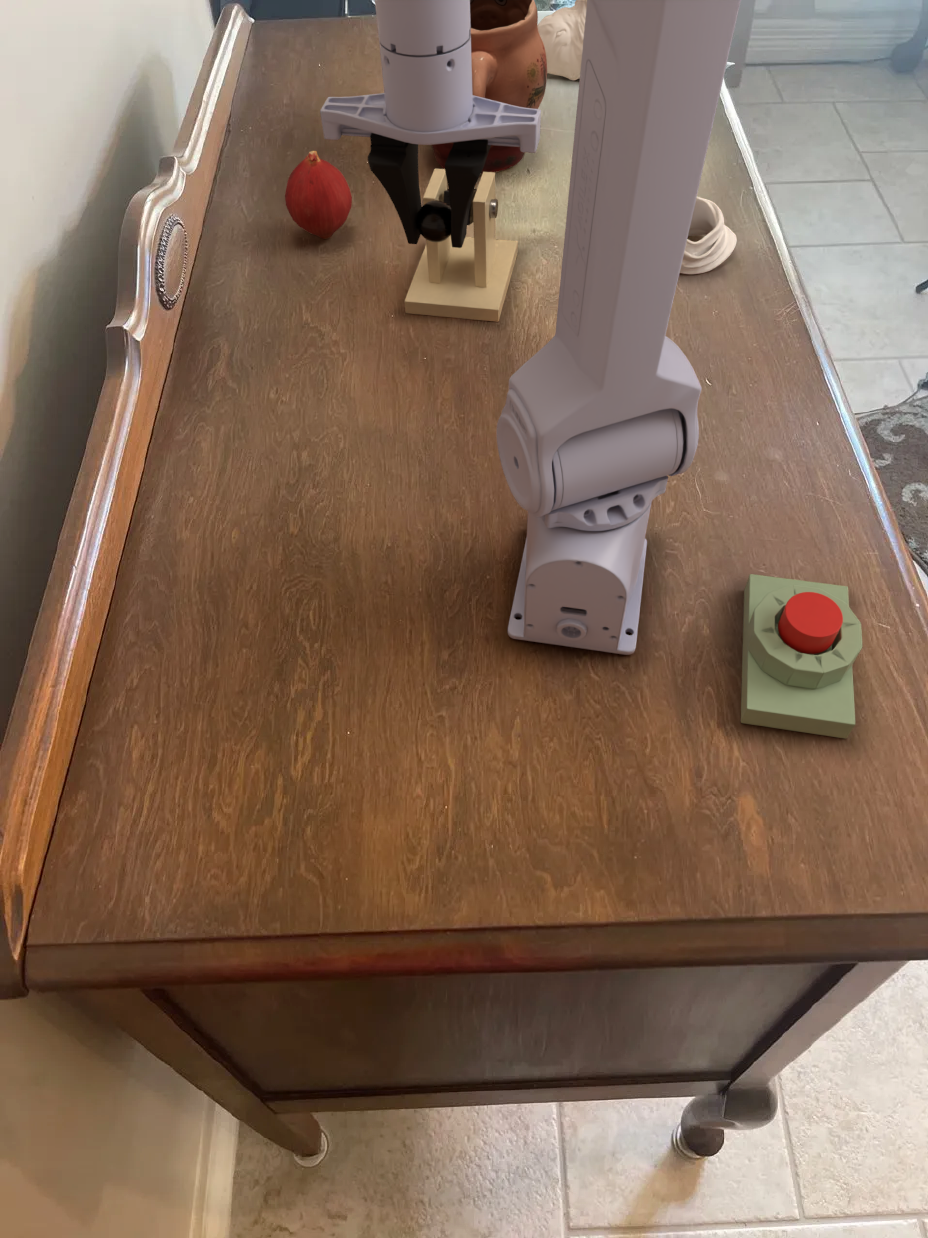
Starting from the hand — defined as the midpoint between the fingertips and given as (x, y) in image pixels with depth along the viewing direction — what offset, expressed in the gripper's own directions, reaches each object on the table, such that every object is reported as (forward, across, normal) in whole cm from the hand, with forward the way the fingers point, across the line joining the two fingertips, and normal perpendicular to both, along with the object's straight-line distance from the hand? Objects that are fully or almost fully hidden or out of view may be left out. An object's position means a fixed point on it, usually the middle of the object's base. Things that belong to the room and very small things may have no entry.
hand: (437, 238), depth 68 cm
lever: (+2, 0, -4) cm, 4 cm away
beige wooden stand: (+9, 0, -8) cm, 12 cm away
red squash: (+9, +14, -13) cm, 21 cm away
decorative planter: (+9, +2, -28) cm, 30 cm away
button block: (+9, -28, +27) cm, 39 cm away
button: (+6, -27, +27) cm, 39 cm away
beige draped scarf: (+9, -19, -15) cm, 26 cm away
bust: (+9, -6, -49) cm, 50 cm away
